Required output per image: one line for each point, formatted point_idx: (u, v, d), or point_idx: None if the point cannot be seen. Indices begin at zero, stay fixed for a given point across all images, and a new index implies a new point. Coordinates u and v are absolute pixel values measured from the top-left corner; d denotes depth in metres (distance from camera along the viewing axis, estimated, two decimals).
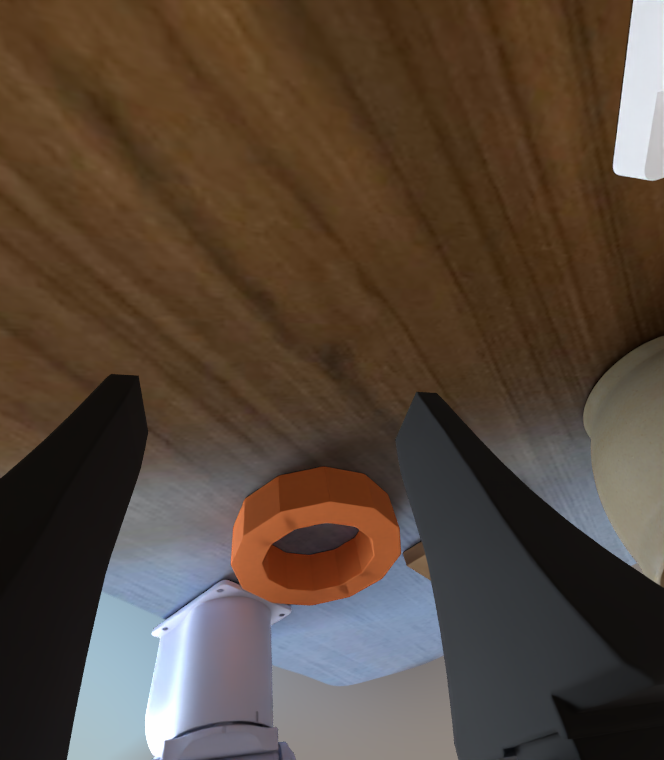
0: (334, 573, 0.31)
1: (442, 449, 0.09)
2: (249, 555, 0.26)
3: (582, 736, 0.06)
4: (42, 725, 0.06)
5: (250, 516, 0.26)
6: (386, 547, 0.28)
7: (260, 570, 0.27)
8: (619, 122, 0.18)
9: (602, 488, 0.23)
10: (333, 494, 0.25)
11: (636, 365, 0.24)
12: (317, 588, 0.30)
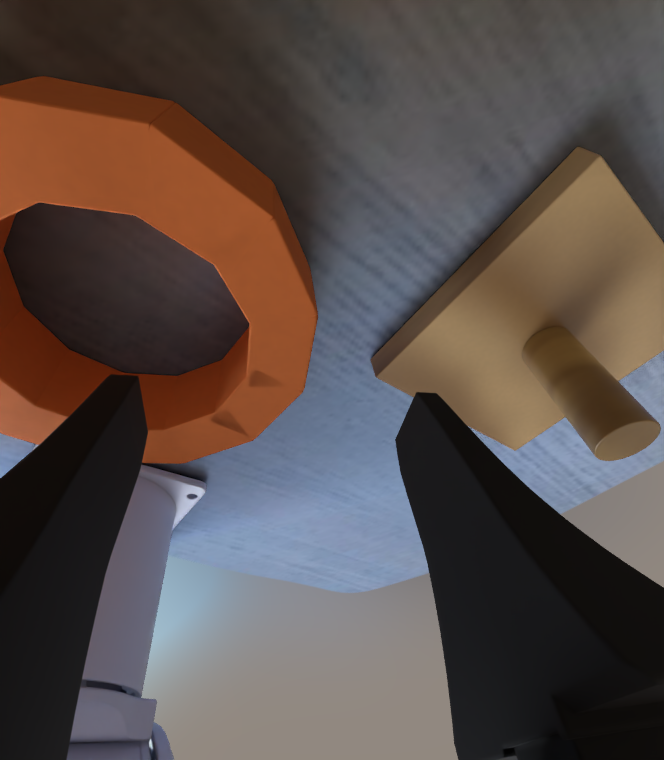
0: (209, 395, 0.15)
1: (442, 449, 0.09)
2: None
3: (582, 736, 0.06)
4: (42, 725, 0.06)
5: None
6: (270, 295, 0.11)
7: None
8: None
9: None
10: (9, 90, 0.08)
11: None
12: (171, 424, 0.14)
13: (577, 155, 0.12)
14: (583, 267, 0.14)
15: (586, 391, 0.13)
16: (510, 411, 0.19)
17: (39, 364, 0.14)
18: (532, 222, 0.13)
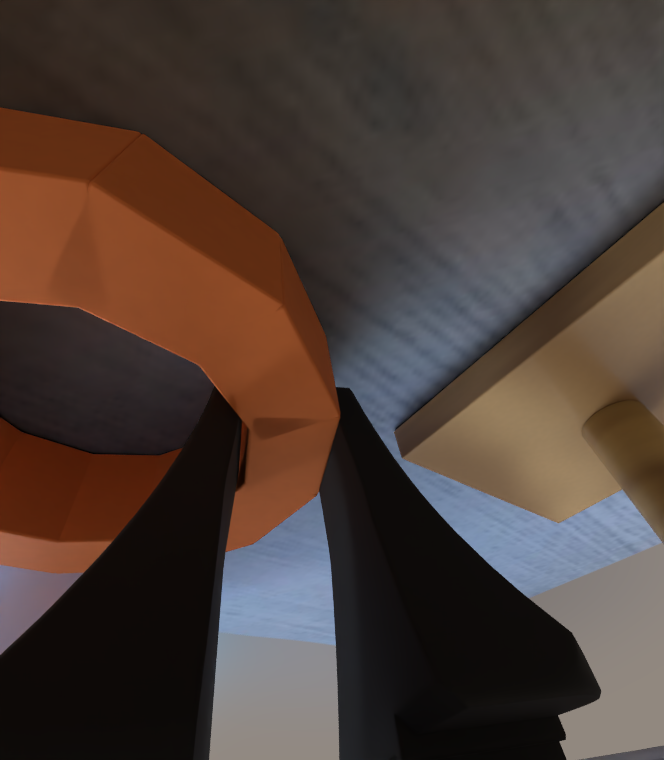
0: None
1: (340, 446, 0.09)
2: None
3: None
4: (210, 707, 0.07)
5: None
6: (277, 397, 0.08)
7: None
8: None
9: None
10: None
11: None
12: None
13: None
14: None
15: None
16: (559, 486, 0.16)
17: None
18: (620, 285, 0.10)
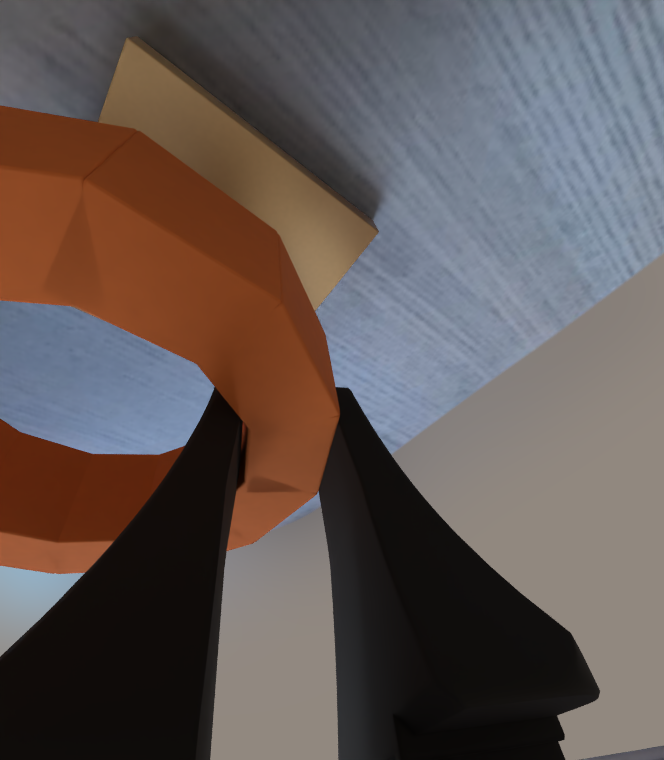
0: None
1: (339, 446, 0.09)
2: None
3: None
4: (211, 707, 0.07)
5: None
6: (275, 395, 0.08)
7: None
8: None
9: None
10: None
11: None
12: None
13: None
14: None
15: None
16: None
17: None
18: (100, 114, 0.13)
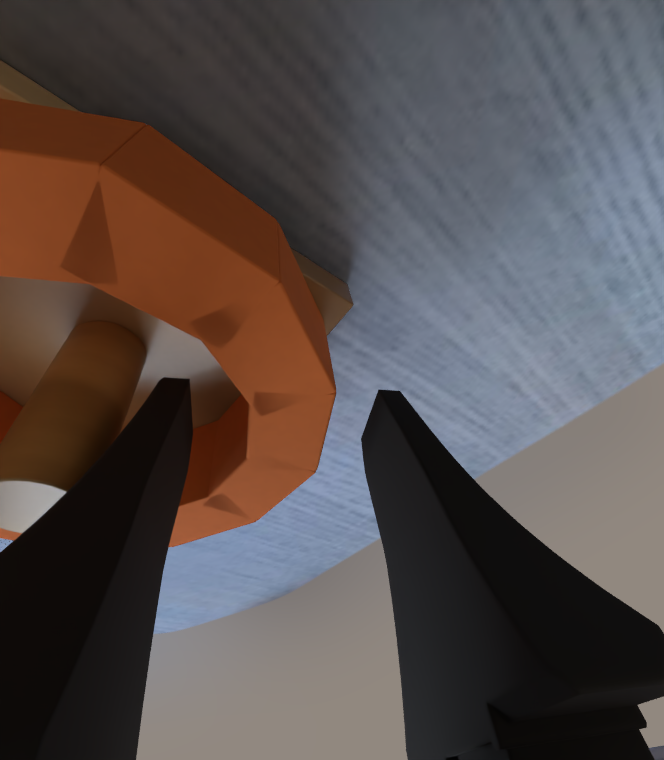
0: (202, 470, 0.12)
1: (399, 448, 0.09)
2: None
3: (516, 746, 0.05)
4: (125, 716, 0.06)
5: None
6: (275, 372, 0.09)
7: None
8: None
9: None
10: None
11: None
12: None
13: None
14: None
15: None
16: None
17: None
18: None
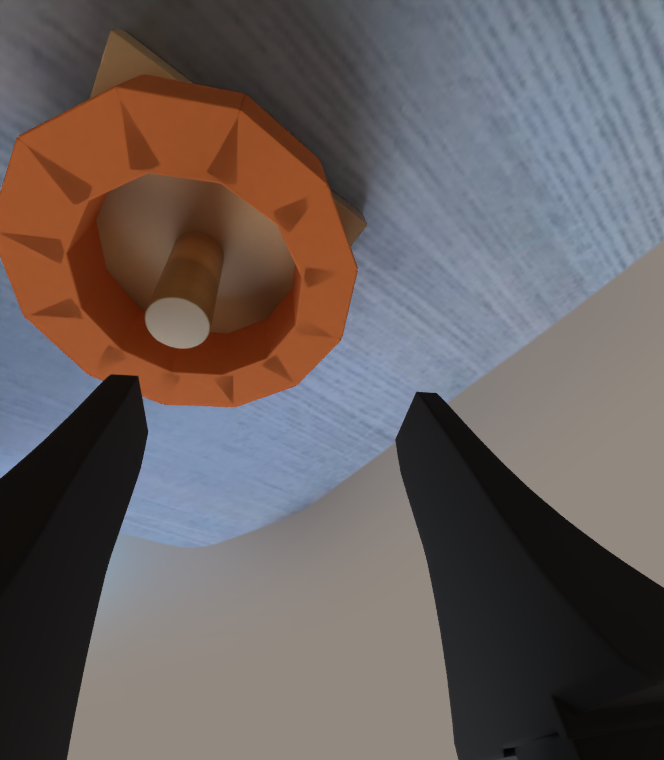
0: (259, 346, 0.17)
1: (442, 449, 0.09)
2: (41, 287, 0.13)
3: (582, 736, 0.06)
4: (42, 725, 0.06)
5: None
6: (320, 251, 0.14)
7: (90, 327, 0.15)
8: None
9: None
10: (134, 85, 0.11)
11: None
12: (229, 370, 0.17)
13: None
14: None
15: (159, 279, 0.13)
16: (210, 332, 0.19)
17: (121, 317, 0.16)
18: None
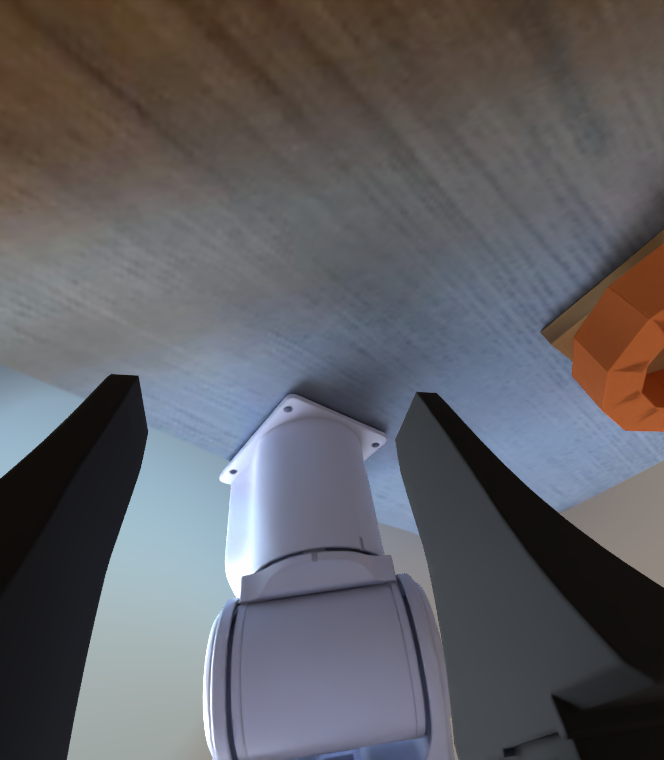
0: None
1: (442, 449, 0.09)
2: (640, 353, 0.19)
3: (582, 736, 0.06)
4: (42, 725, 0.06)
5: (645, 295, 0.18)
6: None
7: (640, 378, 0.20)
8: None
9: None
10: None
11: None
12: None
13: None
14: None
15: None
16: None
17: None
18: None
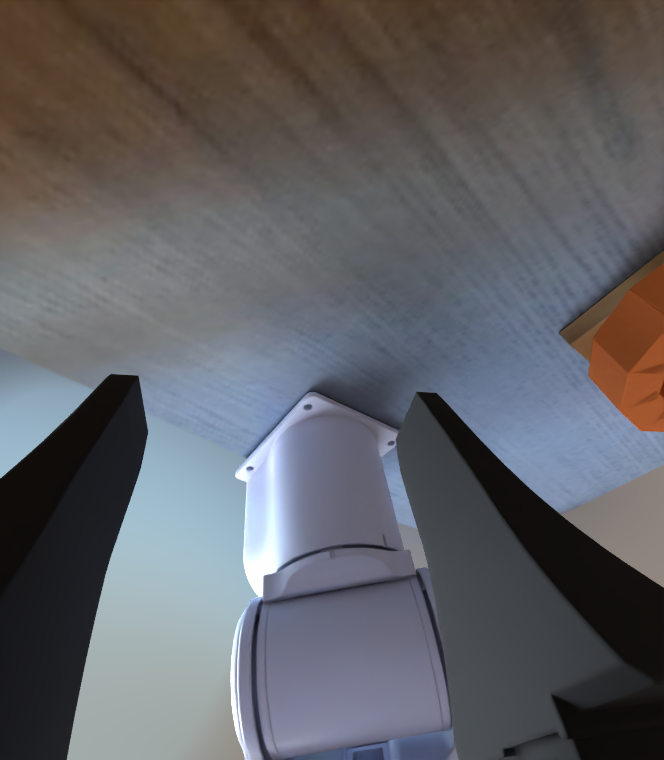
0: None
1: (442, 449, 0.09)
2: (661, 355, 0.19)
3: (582, 736, 0.06)
4: (42, 725, 0.06)
5: None
6: None
7: (659, 379, 0.21)
8: None
9: None
10: None
11: None
12: None
13: None
14: None
15: None
16: None
17: None
18: None
